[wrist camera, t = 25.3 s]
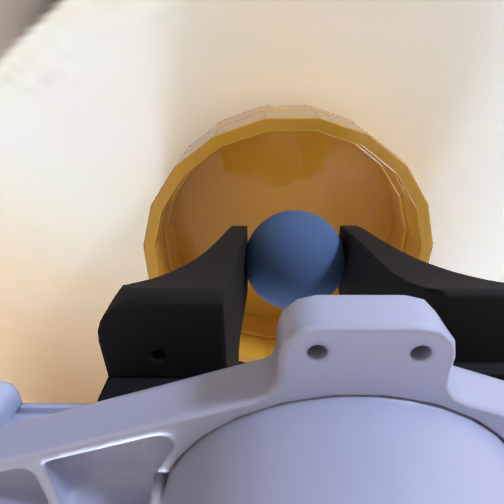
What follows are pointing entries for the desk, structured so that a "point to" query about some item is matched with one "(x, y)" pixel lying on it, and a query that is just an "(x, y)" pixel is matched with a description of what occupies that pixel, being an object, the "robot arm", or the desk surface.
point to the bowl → (282, 195)
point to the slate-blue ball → (294, 258)
